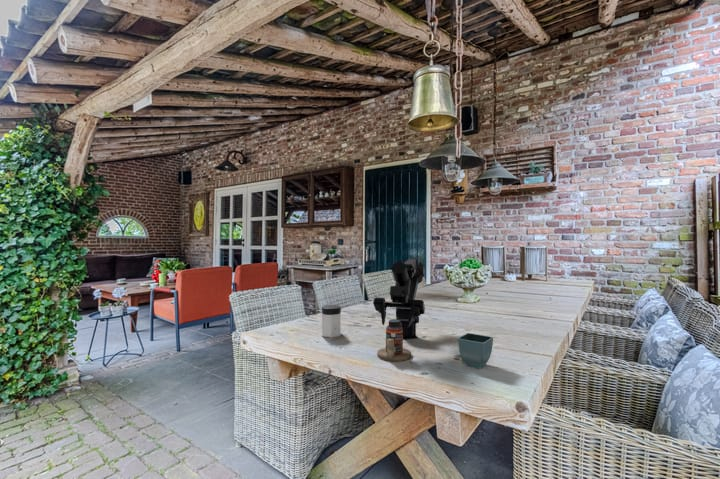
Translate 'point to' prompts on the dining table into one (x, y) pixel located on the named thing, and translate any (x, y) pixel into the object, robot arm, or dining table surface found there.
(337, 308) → the jar
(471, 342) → the flower pot
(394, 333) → the supplement bottle
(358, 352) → the dining table surface
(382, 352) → the flange plate
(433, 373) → the dining table surface
